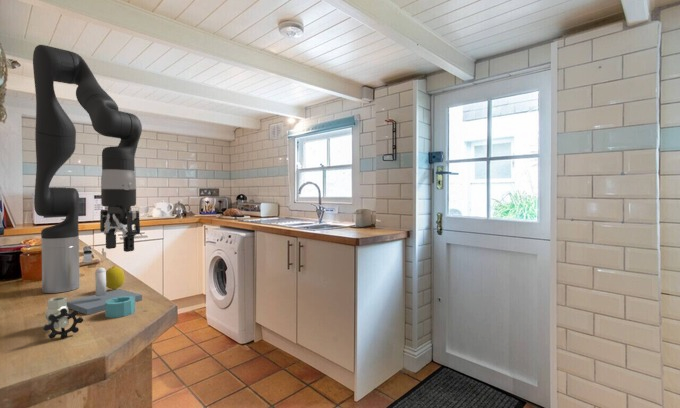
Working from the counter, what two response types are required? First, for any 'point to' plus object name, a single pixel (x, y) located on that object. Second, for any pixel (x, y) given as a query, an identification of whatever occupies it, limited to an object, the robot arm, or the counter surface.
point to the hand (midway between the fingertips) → (119, 249)
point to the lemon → (114, 278)
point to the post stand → (99, 296)
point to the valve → (60, 317)
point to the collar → (119, 306)
